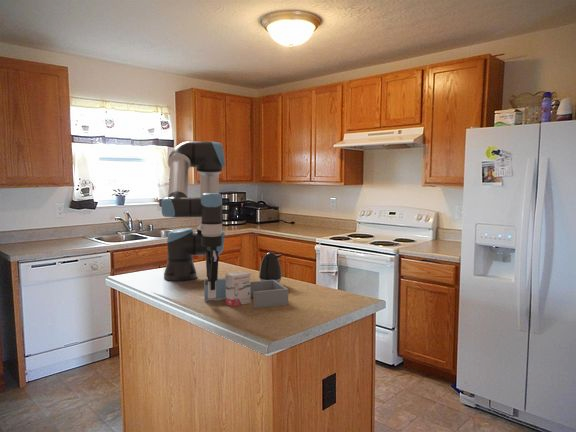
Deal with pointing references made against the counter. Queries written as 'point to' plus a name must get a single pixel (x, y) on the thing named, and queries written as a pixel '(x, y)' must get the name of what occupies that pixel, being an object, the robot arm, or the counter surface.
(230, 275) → the ink box
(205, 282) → the blue-grey flat plate
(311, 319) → the counter surface
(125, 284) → the counter surface
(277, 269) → the pump dispenser
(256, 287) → the grey open box
